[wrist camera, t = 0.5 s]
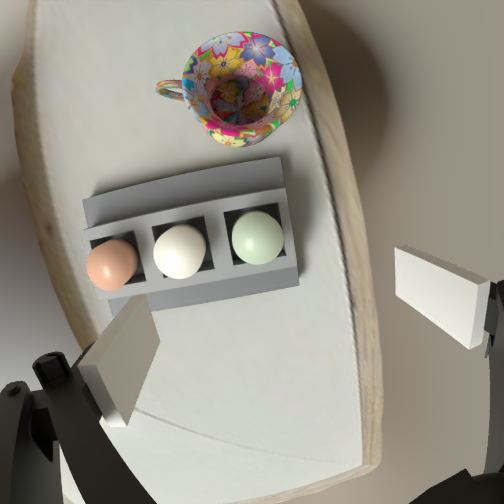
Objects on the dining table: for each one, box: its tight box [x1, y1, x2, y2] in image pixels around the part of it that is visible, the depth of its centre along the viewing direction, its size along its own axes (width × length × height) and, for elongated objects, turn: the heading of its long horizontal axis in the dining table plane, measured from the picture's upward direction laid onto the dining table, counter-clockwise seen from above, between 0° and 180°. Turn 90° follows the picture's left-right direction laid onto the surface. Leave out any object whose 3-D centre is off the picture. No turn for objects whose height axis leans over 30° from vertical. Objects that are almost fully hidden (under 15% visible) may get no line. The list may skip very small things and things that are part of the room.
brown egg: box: [87, 238, 139, 291], centre depth 27 cm, size 4×4×4 cm
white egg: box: [153, 224, 206, 279], centre depth 27 cm, size 4×4×4 cm
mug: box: [156, 32, 302, 147], centre depth 25 cm, size 12×9×11 cm
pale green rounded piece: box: [232, 210, 284, 265], centre depth 28 cm, size 4×4×4 cm
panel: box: [80, 157, 300, 317], centre depth 31 cm, size 14×22×5 cm, turn 100°
